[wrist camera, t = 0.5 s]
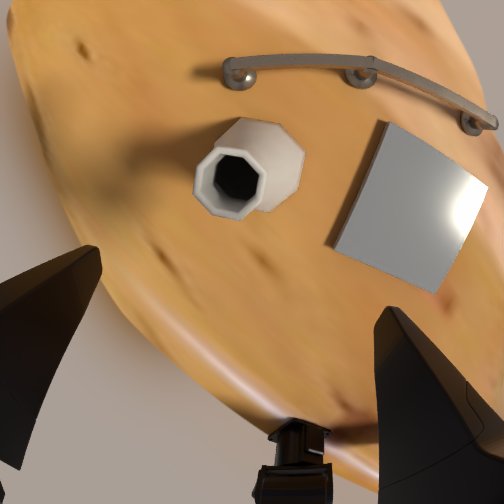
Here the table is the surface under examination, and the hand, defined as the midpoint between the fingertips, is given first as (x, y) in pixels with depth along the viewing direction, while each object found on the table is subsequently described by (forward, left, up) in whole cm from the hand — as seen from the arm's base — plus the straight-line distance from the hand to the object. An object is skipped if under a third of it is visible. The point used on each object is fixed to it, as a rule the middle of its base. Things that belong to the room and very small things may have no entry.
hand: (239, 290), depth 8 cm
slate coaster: (+5, -11, -15) cm, 19 cm away
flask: (+1, +2, -15) cm, 15 cm away
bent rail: (+11, -2, -15) cm, 19 cm away
